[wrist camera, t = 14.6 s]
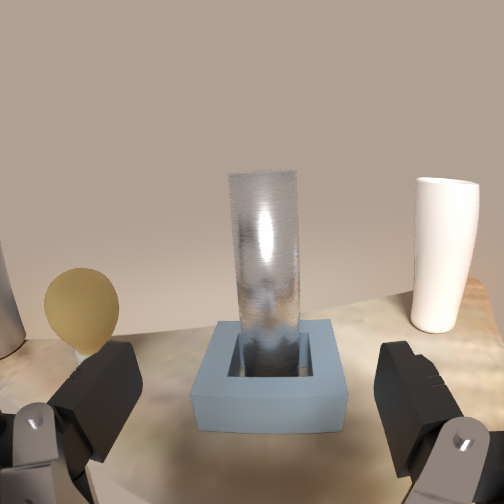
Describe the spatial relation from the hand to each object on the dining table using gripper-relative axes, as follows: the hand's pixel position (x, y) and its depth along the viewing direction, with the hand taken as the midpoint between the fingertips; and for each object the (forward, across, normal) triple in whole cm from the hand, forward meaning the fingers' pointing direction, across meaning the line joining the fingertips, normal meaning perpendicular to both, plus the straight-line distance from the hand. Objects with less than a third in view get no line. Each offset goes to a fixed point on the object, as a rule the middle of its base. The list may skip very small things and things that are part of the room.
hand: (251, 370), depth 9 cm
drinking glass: (+20, -17, +11) cm, 28 cm away
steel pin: (+11, 0, +10) cm, 15 cm away
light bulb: (+11, +15, +11) cm, 22 cm away
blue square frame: (+11, 0, +10) cm, 15 cm away
